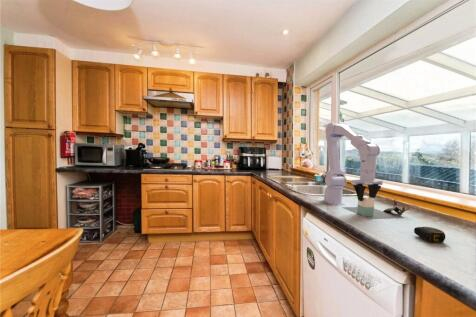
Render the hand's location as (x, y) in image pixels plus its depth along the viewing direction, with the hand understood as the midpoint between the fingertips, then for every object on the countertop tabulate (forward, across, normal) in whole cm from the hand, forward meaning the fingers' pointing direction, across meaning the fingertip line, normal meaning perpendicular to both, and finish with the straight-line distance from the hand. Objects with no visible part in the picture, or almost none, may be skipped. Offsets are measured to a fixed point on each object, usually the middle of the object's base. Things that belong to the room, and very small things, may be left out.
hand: (365, 200), depth 97 cm
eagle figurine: (+7, +16, 0) cm, 18 cm away
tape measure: (+7, +1, -26) cm, 27 cm away
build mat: (+7, +5, +3) cm, 9 cm away
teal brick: (+6, 0, 0) cm, 6 cm away
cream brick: (+2, 0, 0) cm, 2 cm away
